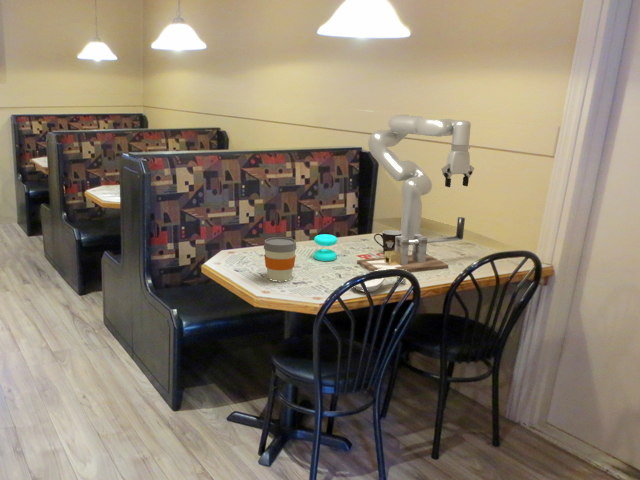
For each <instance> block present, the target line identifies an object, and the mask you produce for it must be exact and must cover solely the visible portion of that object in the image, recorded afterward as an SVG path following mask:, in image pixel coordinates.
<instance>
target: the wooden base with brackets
mask: <svg viewBox="0 0 640 480" xmlns="http://www.w3.org/2000/svg"><path fill="white" fill-rule="evenodd" d="M417 239H419V244H414V245H412V252H411V254H409V246H410V245H409V239H408V238H406V237H403V236H395V251H397V252H399V253H401V264H398V265H389V262H387V263H385V262H384V256H383V257H374V258H366V259H365V258H363V259H357V260H356V264H357V265H359V267H362V268H364V269H365V270H368V271H369V272H370V271H375V270H378V269H381V268H384V267H388V266H391V267H395V268H396V269H404V270H407V271H409V273H415V272H416V273H417V272H425V271H426V272H427V271H432V270H433V271H434V270H443V269H449V264H448V263H445V262H443V261H441V260H439V259H438V258H436V257H433V256H431V255H429V254H427V249H428V248H427V247H428V243H427V239H428V237H427V236H425V235H422V234H421V233H420V234H416V235H414V237H413V240H417ZM399 241H401V246H399Z"/></svg>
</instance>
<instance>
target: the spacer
mask: <svg viewBox="0 0 640 480" xmlns="http://www.w3.org/2000/svg"><path fill="white" fill-rule="evenodd" d="M383 255H384V256H383V257H384V262H385V263H387V262H389V265H398V264H401V253H399V252H397V251H395V250H394V251H385V254H384V253H383Z"/></svg>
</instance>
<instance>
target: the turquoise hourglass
mask: <svg viewBox="0 0 640 480" xmlns="http://www.w3.org/2000/svg"><path fill="white" fill-rule="evenodd" d="M313 238H314V239H313V241H314V243H315V244H317V245H318V246H321V247H331V246H335V245H336V244H337V242H338V238H337V236H335V235H333V234H327V233H326V234H325V233H324V234H318V235H316V236H314V237H313ZM337 257H338V256H337V253H336V252H335V251H334V250H333V249H328V248H321V249H316V250H315V251H314V253H313V258H314V259H315V260H317V261H320V262H331V261H334V260H336V259H337Z"/></svg>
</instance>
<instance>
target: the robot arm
mask: <svg viewBox="0 0 640 480" xmlns="http://www.w3.org/2000/svg"><path fill="white" fill-rule="evenodd" d="M387 124H388V128H389V129H381V130H376V131H373V132H372V133H371V134H370V136H369V138H368V143H367V145H368V146H367V147H368V150H369V153H370V154H371V156H372V157H373V158H374V159H375V160H376V161H377V162H378V163H379V165H380V166H381V167H382V168H383V169H384V171H386V173H388V175H389V176H391V178H392V179H393V180H394V181H396V182H402V184H401V200H402V203H401V215H400V216H401V218H400V230H398V231H399V232H401V233H402V234H401V236H403V237H406V238H408V239H409V240H413V237H414V235H416V234H420V235H421V225H422V224H421V223H422V209H423V204H422V198H421V197H422V196H424V195H427V194H429V193H430V192H431V190H432V189H433V184H432V183H433V182H432V180H431V179H430V177H429V176H428V175H427V174H426V172H424V171H423V170H422V169H421V167H419V165H418V164H417V163H416V162H414V161H411V160H401V159H400V158H399V157H398V156H397V155H396V153H395V152H394V151H392V150H390V149H389V148H392V147H395V146H396V145H398V144H399V143H400V142H401V141H402V140H403V139H404V138H405V137H407V136H408V135H417V136H429V137H437V138H438V137H440V138H441V137H448V136H449V137H450V136H451V137H452V138H451V145H450V146H451V149H450V150H451V151H450V150H449V152H448V155H447V160H446V165H445V166H443V167H442V168H441V173H442V176H443V177H444V178H445V181H444V186H445V187H446V188H451V184H452V178H451V177H452V176H453V175H463V177H462V186H464V187H468V186H469V182H470V181H469V179H470V178H471V176H472V175H473V172H474V170H475V167H474V166H472V164H471V165H470V163H471V162H470V161H471V160H470V152H469V150H470V149H471V145H470V135H471V125H472V124H471V122H470V121H469V120H462V119H461V120H456V119H452V118H445V119H444V118H441V119H437V118H436V119H435V118H433V119H432V118H424V117H422V116H420V115H409V114H395V115H393V116H391V117H390V119H389V120H388V123H387Z"/></svg>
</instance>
